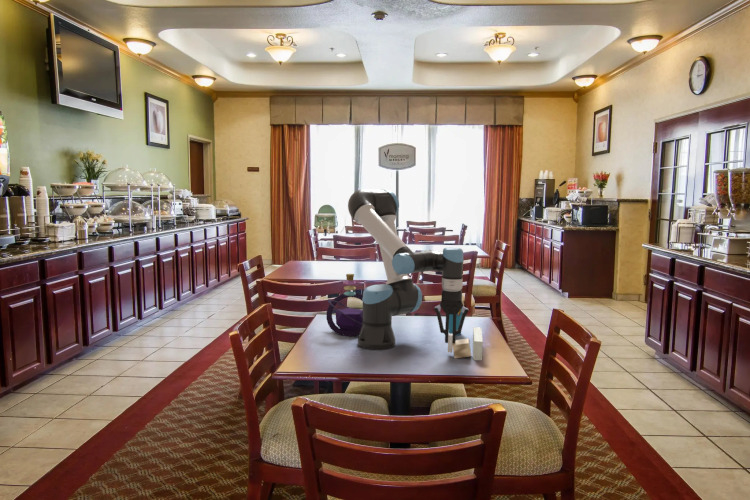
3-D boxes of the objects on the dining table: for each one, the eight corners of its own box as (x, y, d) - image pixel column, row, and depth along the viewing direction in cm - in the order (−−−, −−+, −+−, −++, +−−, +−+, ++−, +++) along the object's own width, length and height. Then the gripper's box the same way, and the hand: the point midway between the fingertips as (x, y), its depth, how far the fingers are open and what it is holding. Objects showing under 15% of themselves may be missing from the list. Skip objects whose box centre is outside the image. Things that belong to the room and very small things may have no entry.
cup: (438, 329, 226) (439, 296, 224) (453, 328, 229) (454, 295, 227) (454, 338, 213) (455, 303, 212) (470, 336, 216) (471, 302, 214)
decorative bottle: (316, 334, 216) (316, 275, 213) (335, 322, 236) (335, 269, 233) (365, 339, 209) (366, 279, 206) (381, 327, 229) (382, 272, 226)
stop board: (473, 359, 187) (474, 341, 186) (472, 343, 206) (473, 327, 205) (481, 360, 186) (482, 341, 185) (480, 344, 206) (481, 327, 205)
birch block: (454, 358, 188) (452, 345, 187) (454, 353, 194) (452, 340, 193) (470, 356, 187) (468, 343, 186) (470, 351, 193) (468, 338, 192)
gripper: (433, 290, 185) (431, 353, 188) (470, 292, 183) (467, 355, 186) (434, 286, 193) (432, 347, 195) (469, 288, 191) (467, 349, 193)
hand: (449, 351), depth 191 cm, fingers closed
